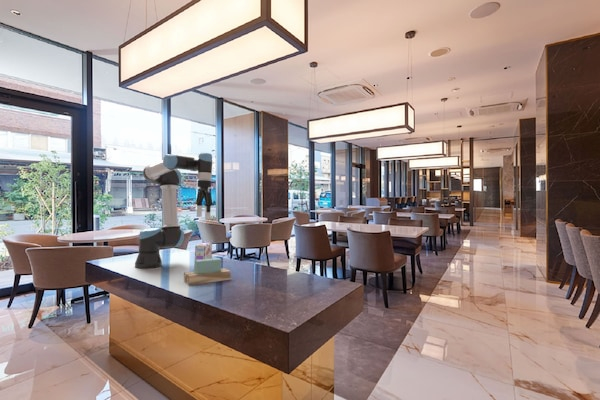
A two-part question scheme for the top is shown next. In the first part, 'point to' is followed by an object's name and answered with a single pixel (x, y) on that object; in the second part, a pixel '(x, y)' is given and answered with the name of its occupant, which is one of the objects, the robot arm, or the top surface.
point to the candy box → (203, 251)
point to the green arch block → (207, 265)
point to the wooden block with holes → (206, 277)
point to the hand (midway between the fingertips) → (203, 217)
